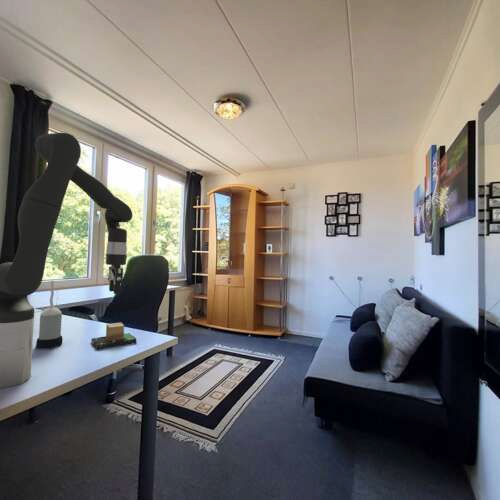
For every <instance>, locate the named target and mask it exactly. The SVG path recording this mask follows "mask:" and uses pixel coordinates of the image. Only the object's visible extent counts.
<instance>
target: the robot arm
mask: <svg viewBox="0 0 500 500" xmlns="http://www.w3.org/2000/svg"><path fill="white" fill-rule="evenodd" d="M34 146H35V149H36V150H35V151H36V152H37V154H38V155H39V156H40V157H41V159H42V160H43V161H45V162H46V163H47V165H46V168H45V169H44V171H43V173H41V175H40V176H39V177H38V178H37V179H36V180H35V181H34V183H33V184H31V185H30V187H29V188H28V190H27V191H26V192H25V194H24V196H23V199H22V202H21V204H20V206H19V210H18V214H17V227H18V237H19V241H18V247H17V251H16V254H15V256H14V258H13V261H12V262H9V261H8V262H4V263H3V262H2V263H1V264H0V389H3V388H7V387H13V386H17V385H22V384H24V383H25V382H26V381H27V380H29V379H30V378H31V374H32V356H33V340H34V339H33V337H34V325H35V322H34V320H35V308H34V307H33V305H32V304H31V303H30V301H29V298H28V296H30V295H32V294H34V293H35V292H36V291H37V290H38V289H39V287H40V286H41V284H42V282H43V278H44V273H45V269H46V268H45V267H46V264H47V263H46V261H47V258H48V257H47V255H48V253H49V252H48V251H49V248H50V244H51V243H52V242H51V241H52V238H53V235H54V230H55V228H56V225H57V223H58V220H59V215H60V214H61V213H60V212H61V210H62V206H63V202H64V199H65V195H66V193H67V190H68V187H69V184H70V181H71V182H72V183H73V184H75V185H76V186H77V187H78V188H80V189H81V190H82V191H83V192H84V193H85V194H86V195H87V196H88V197H89V198H90V199H91V200H92V201H93V202H94V204H96V205H97V206H98V207H99V208H101V209H105V211H104V219H105V224H106V229H107V244H106V252H105V253H106V254H105V265H107V266H108V276H107V280H108V282H109V283H108V286H109V287H108V290H109V292H113V294H114V295H119V294H120V293H121V285H122V284H123V282H124V281H123V278H124V277H123V276H124V274H123V273H124V268H122V267H121V266H125V265H126V264H127V253H128V251H127V250H128V246H127V240H128V239H127V237H128V231H127V230H126V229H125V228H122V227H121V225H120V223H128V222H130V221H131V220H132V219H133V210H132V209H131V207H129V205H128V204H126V203H125V202H124V201H123V200H121V199H120V198H119V197H118V196H115V194H113V192H112V191H111V190H110V189H109V188H108V187H107V186H106V184H104V183H103V181H101V180H100V179H98V178H97V177H95V176H94V175H93V174H90V173H89V172H87V171H86V170H85V169H83V168H82V167H80V166H79V165H78V164H79V161H80V158H81V154H82V150H81V149H82V148H81V144H80V142H79V139H77V137H75V135H73V134H71V133H68V132H54V133H53V132H51V133H45V134H41V135H39V136H38V137H37V138H36V139H35V143H34Z"/></svg>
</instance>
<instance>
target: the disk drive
mask: <svg viewBox="0 0 500 500" xmlns="http://www.w3.org/2000/svg"><path fill="white" fill-rule="evenodd" d="M137 340H138V339H137V337H135V336H134V335H132V334H131V333H130V332H129V333H127V332H126V333H125V332H124V339H120V340H114V341H108V340H107V338H106V335H105V336H99V337H94V338H91V342H90V343H91V345H92V346H93V348H94V350H96V351H100V350H105V349H106V350H107V349H110V348H116V347H121V346H127V344H129V345H133V344H132V343H134V344H137Z"/></svg>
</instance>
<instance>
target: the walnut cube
mask: <svg viewBox="0 0 500 500" xmlns="http://www.w3.org/2000/svg"><path fill="white" fill-rule="evenodd" d="M105 331H106V332H105V336H106V338H107V340H108V341H114V340H120V339H124V333H125V325H124V324H123V322H115V323H106V330H105Z"/></svg>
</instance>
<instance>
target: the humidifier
mask: <svg viewBox="0 0 500 500" xmlns="http://www.w3.org/2000/svg"><path fill="white" fill-rule="evenodd" d="M58 286H59V284H57V287H56V291H58V290H59V289H58ZM54 295H55V291H54V280H51V282H50V298H49V307H47V308H46V309H44V310H42V311H41V313H40V317H39V329H38V338H36V343H35V349H38V350H47V349H48V350H49V349H55V348H58V347H60V346H62V345H63V341H64V340H63V338H64V337H63V336H62V335H61V334H62V317H63V315H62V311H61V309H59V308H57V306H58V303H56V306H54V301H53V299H54ZM58 298H59V294H58V293H57V297H56V299H58Z"/></svg>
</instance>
